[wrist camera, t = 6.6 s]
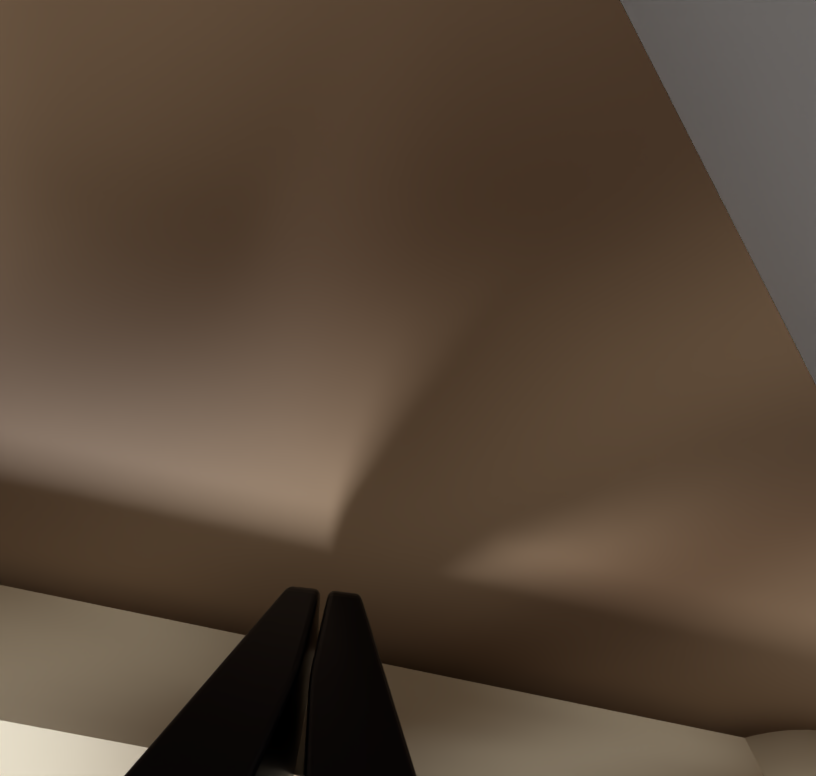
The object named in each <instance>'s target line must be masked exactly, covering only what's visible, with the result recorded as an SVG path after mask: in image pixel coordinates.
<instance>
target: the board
mask: <svg viewBox="0 0 816 776" xmlns="http://www.w3.org/2000/svg"><path fill="white" fill-rule="evenodd" d="M0 585H3V586H8V587H13V588H18V589H23V590H27V591H32V592H37V593H42V594H47V595H52V596H57V597H62V598H66V599H71V600H76V601H81V602H86V603H91V604H96V605H100V606H105V607H110V608H115V609H120V610H125V611H130V612H135V613H139V614H144V615H149V616H154V617H159V618H164V619H169V620H173V621H178V622H183V623H188V624H193V625H198V626H203V627H208V628H212V629H217V630H222V631H227V632H232V633H237V634H242V635H246V634H247V633H248V632H249V631H250V630H251V629H252V627H253V626H254V625H255V624H256V623H257V622H258V621H259V619H260V618H261V617H262V616H263V615H264V614H265V612H266V611H267V610H268V609H269V608H270V607H271V606H272V604H273V603H274V602H275V601H276V600H277V599H278V597H279V596H280V595H281V594H282V593H283V592H284V591H285V590H286V589H287V588H289V587H291V586H295V587H304V588H313V589H317V590H318V591H319V593H320V608H319V623H318V635H319V631H320V626H321V622H322V618H323V613H324V609H325V605H326V600H327V597H328V594H329V593H330V592H332V591H340V592H349V593H356V594H359V595H360V597H361V598H362V601H363V604H364V607H365V610H366V614H367V617H368V620H369V623H370V627H371V630H372V633H373V636H374V639H375V643H376V646H377V649H378V652H379V656H380V659H381V662H382V663H383V664H388V665H392V666H397V667H402V668H407V669H412V670H417V671H422V672H426V673H431V674H436V675H441V676H446V677H451V678H456V679H461V680H465V681H470V682H475V683H480V684H485V685H490V686H495V687H499V688H504V689H509V690H514V691H519V692H524V693H529V694H534V695H538V696H543V697H548V698H553V699H558V700H563V701H568V702H572V703H577V704H582V705H587V706H592V707H597V708H602V709H607V710H611V711H616V712H621V713H626V714H631V715H636V716H641V717H645V718H650V719H655V720H660V721H665V722H670V723H675V724H680V725H684V726H689V727H694V728H699V729H704V730H709V731H714V732H718V733H723V734H728V735H733V736H738V737H743V738H746V737H750V736H753V735H759V734H764V733H769V732H776V731H786V730H816V385H815V383H814V381H813V379H812V377H811V375H810V373H809V371H808V369H807V367H806V365H805V363H804V361H803V359H802V357H801V355H800V353H799V351H798V349H797V347H796V345H795V343H794V341H793V339H792V338H791V336H790V334H789V332H788V330H787V328H786V326H785V324H784V322H783V320H782V318H781V316H780V314H779V312H778V310H777V308H776V306H775V304H774V302H773V300H772V298H771V296H770V294H769V292H768V290H767V288H766V286H765V284H764V282H763V281H762V279H761V277H760V275H759V273H758V271H757V269H756V267H755V265H754V263H753V261H752V259H751V257H750V255H749V253H748V251H747V249H746V247H745V245H744V243H743V241H742V239H741V237H740V235H739V233H738V231H737V229H736V227H735V226H734V224H733V222H732V220H731V218H730V216H729V214H728V212H727V210H726V208H725V206H724V204H723V202H722V200H721V198H720V196H719V194H718V192H717V190H716V188H715V186H714V184H713V182H712V180H711V178H710V176H709V174H708V172H707V171H706V169H705V167H704V165H703V163H702V161H701V159H700V157H699V155H698V153H697V151H696V149H695V147H694V145H693V143H692V141H691V139H690V137H689V135H688V133H687V131H686V129H685V127H684V125H683V123H682V121H681V119H680V117H679V115H678V114H677V112H676V110H675V108H674V106H673V104H672V102H671V100H670V98H669V96H668V94H667V92H666V90H665V88H664V86H663V84H662V82H661V80H660V78H659V76H658V74H657V72H656V70H655V68H654V66H653V64H652V62H651V60H650V59H649V57H648V55H647V53H646V51H645V49H644V47H643V45H642V43H641V41H640V39H639V37H638V35H637V33H636V31H635V29H634V27H633V25H632V23H631V21H630V19H629V17H628V15H627V13H626V11H625V9H624V7H623V5H622V3H621V2H620V0H0ZM317 640H318V637H317Z"/></svg>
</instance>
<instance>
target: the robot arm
mask: <svg viewBox="0 0 816 776" xmlns="http://www.w3.org/2000/svg"><path fill="white" fill-rule="evenodd" d="M319 608H320V593H319V591H318V590H317V589H313V588H304V587H295V586H291V587H289V588H287V589H286V590H285V591H284V592H283V593H282V594H281V595H280V596H279V597H278V599H277V600H276V601H275V602H274V603H273V604H272V606H271V607H270V608H269V609H268V610H267V611H266V612H265V614H264V615H263V616H262V617H261V618H260V619H259V621H258V622H257V623H256V624H255V625H254V626H253V627H252V629H251V630H250V631H249V632H248V633H247V634H246V636H245V637H244V638H243V639H242V640H241V641H240V642H239V644H238V645H237V646H236V647H235V648H234V649H233V651H232V652H231V653H230V654H229V655H228V656H227V657H226V659H225V660H224V661H223V662H222V663H221V664H220V666H219V667H218V668H217V669H216V670H215V671H214V672H213V674H212V675H211V676H210V677H209V678H208V679H207V681H206V682H205V683H204V684H203V685H202V686H201V687H200V689H199V690H198V691H197V692H196V693H195V694H194V696H193V697H192V698H191V699H190V700H189V701H188V703H187V704H186V705H185V706H184V707H183V708H182V709H181V711H180V712H179V713H178V714H177V715H176V716H175V718H174V719H173V720H172V721H171V722H170V723H169V724H168V726H167V727H166V728H165V729H164V730H163V731H162V733H161V734H160V735H159V736H158V737H157V738H156V739H155V741H154V742H153V743H152V744H151V745H150V746H149V748H148V749H147V750H146V751H145V752H144V753H143V754H142V756H141V757H140V758H139V759H138V760H137V761H136V763H135V764H134V765H133V766H132V767H131V768H130V769H129V771H128V772H127V773H126V774H125V775H124V776H294V771H295V766H296V761H297V756H298V751H299V745H300V739H301V734H302V728H303V722H304V716H305V710H306V704H307V720H306V737H305V754H304V771H303V776H417V775H416V772H415V769H414V766H413V763H412V759H411V756H410V753H409V750H408V746H407V743H406V740H405V737H404V733H403V730H402V727H401V724H400V720H399V717H398V714H397V711H396V707H395V704H394V701H393V698H392V695H391V691H390V688H389V685H388V682H387V678H386V675H385V672H384V669H383V665H382V662H381V659H380V656H379V652H378V649H377V646H376V643H375V639H374V636H373V633H372V630H371V627H370V623H369V620H368V617H367V614H366V610H365V607H364V604H363V601H362V598H361V597H360V595H359V594H356V593H349V592H340V591H332V592H330V593H329V594H328V597H327V600H326V605H325V609H324V613H323V618H322V622H321V626H320V631H319V635H318V623H319ZM317 637H318V640H317ZM307 699H308V703H307Z"/></svg>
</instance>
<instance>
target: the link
mask: <svg viewBox="0 0 816 776" xmlns="http://www.w3.org/2000/svg"><path fill="white" fill-rule="evenodd" d="M245 636H246V635H242V634H237V633H232V632H227V631H222V630H217V629H212V628H208V627H203V626H198V625H193V624H188V623H183V622H178V621H173V620H169V619H164V618H159V617H154V616H149V615H144V614H139V613H135V612H130V611H125V610H120V609H115V608H110V607H105V606H100V605H96V604H91V603H86V602H81V601H76V600H71V599H66V598H62V597H57V596H52V595H47V594H42V593H37V592H32V591H27V590H23V589H18V588H13V587H8V586H3V585H0V776H124V775H125V774H126V773H127V772H128V771H129V769H130V768H131V767H132V766H133V765H134V764H135V763H136V761H137V760H138V759H139V758H140V757H141V756H142V754H143V753H144V752H145V751H146V750H147V749H148V748H149V746H150V745H151V744H152V743H153V742H154V741H155V739H156V738H157V737H158V736H159V735H160V734H161V733H162V731H163V730H164V729H165V728H166V727H167V726H168V724H169V723H170V722H171V721H172V720H173V719H174V718H175V716H176V715H177V714H178V713H179V712H180V711H181V709H182V708H183V707H184V706H185V705H186V704H187V703H188V701H189V700H190V699H191V698H192V697H193V696H194V694H195V693H196V692H197V691H198V690H199V689H200V687H201V686H202V685H203V684H204V683H205V682H206V681H207V679H208V678H209V677H210V676H211V675H212V674H213V672H214V671H215V670H216V669H217V668H218V667H219V666H220V664H221V663H222V662H223V661H224V660H225V659H226V657H227V656H228V655H229V654H230V653H231V652H232V651H233V649H234V648H235V647H236V646H237V645H238V644H239V642H240V641H241V640H242V639H243V638H244V637H245ZM382 665H383V669H384V672H385V675H386V678H387V682H388V685H389V688H390V691H391V695H392V698H393V701H394V704H395V707H396V711H397V714H398V717H399V720H400V724H401V727H402V730H403V733H404V737H405V740H406V743H407V746H408V750H409V753H410V756H411V759H412V763H413V766H414V769H415V772H416V775H417V776H816V730H786V731H776V732H769V733H764V734H759V735H753V736H750V737H746V738H743V737H738V736H733V735H728V734H723V733H718V732H714V731H709V730H704V729H699V728H694V727H689V726H684V725H680V724H675V723H670V722H665V721H660V720H655V719H650V718H645V717H641V716H636V715H631V714H626V713H621V712H616V711H611V710H607V709H602V708H597V707H592V706H587V705H582V704H577V703H572V702H568V701H563V700H558V699H553V698H548V697H543V696H538V695H534V694H529V693H524V692H519V691H514V690H509V689H504V688H499V687H495V686H490V685H485V684H480V683H475V682H470V681H465V680H461V679H456V678H451V677H446V676H441V675H436V674H431V673H426V672H422V671H417V670H412V669H407V668H402V667H397V666H392V665H388V664H383V663H382ZM307 703H308V699H307ZM306 720H307V704H306V710H305V716H304V722H303V728H302V734H301V739H300V745H299V751H298V756H297V761H296V766H295V771H294V776H303V771H304V754H305V737H306Z"/></svg>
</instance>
